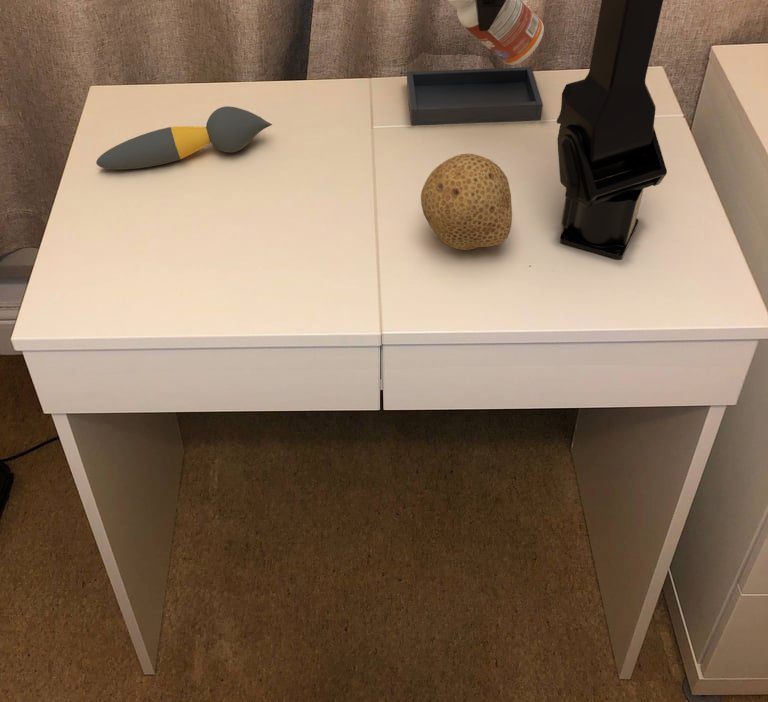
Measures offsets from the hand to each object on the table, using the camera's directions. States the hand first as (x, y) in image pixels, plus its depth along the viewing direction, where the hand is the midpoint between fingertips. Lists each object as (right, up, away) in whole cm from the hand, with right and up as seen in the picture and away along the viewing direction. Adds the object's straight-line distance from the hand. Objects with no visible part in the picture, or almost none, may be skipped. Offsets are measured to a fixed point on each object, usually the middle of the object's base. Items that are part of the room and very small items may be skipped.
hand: (478, 16), depth 97 cm
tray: (0, -7, +8) cm, 11 cm away
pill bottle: (+6, -2, +3) cm, 7 cm away
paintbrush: (-33, -16, +2) cm, 37 cm away
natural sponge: (-2, -26, -9) cm, 28 cm away
